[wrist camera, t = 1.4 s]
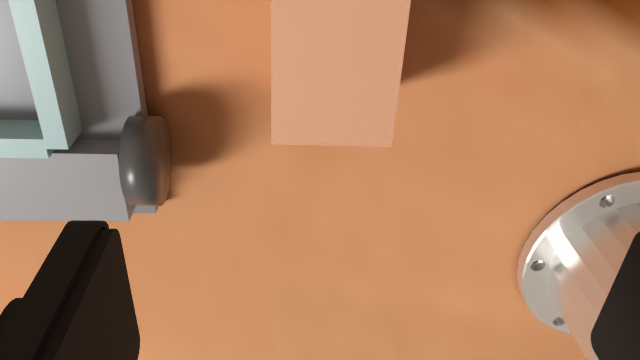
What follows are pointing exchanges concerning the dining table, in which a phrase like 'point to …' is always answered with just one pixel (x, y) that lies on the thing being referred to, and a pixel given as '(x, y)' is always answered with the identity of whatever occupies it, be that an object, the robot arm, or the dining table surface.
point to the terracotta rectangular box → (336, 70)
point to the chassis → (76, 115)
